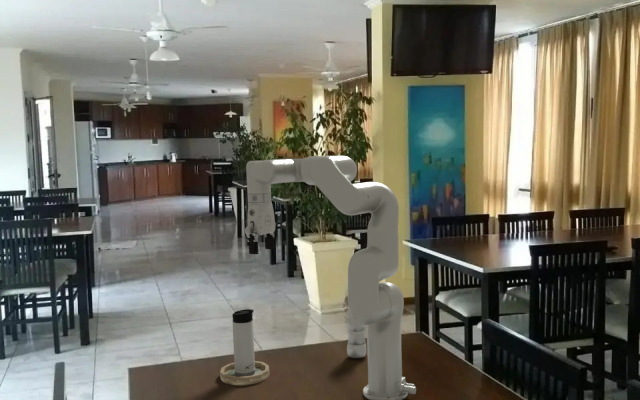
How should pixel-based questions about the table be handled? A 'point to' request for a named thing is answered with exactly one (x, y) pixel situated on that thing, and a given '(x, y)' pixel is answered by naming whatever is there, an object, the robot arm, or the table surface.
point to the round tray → (232, 379)
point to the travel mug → (243, 342)
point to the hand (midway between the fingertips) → (261, 251)
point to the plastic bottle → (355, 338)
